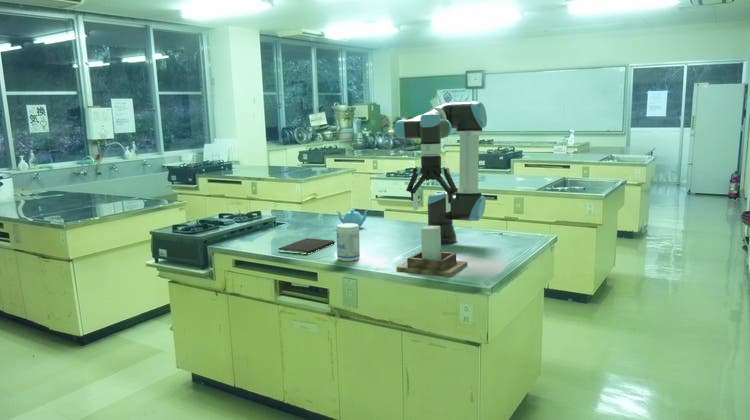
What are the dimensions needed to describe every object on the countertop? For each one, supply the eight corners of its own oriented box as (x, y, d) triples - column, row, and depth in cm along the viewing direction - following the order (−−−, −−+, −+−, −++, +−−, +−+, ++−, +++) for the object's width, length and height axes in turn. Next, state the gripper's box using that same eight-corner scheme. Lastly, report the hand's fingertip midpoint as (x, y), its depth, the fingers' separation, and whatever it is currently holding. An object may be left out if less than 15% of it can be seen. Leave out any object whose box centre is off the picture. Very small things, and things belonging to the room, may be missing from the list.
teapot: (369, 227, 296) (369, 209, 295) (351, 231, 288) (350, 212, 286) (354, 224, 306) (353, 207, 304) (336, 228, 297) (335, 210, 295)
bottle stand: (396, 270, 209) (396, 258, 208) (416, 259, 224) (416, 248, 224) (449, 277, 198) (449, 264, 197) (467, 265, 213) (467, 253, 213)
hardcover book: (278, 253, 246) (278, 248, 245) (307, 242, 266) (306, 238, 266) (307, 256, 239) (307, 251, 238) (334, 245, 259) (334, 240, 258)
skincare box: (436, 267, 206) (436, 229, 204) (421, 266, 208) (420, 228, 206) (441, 262, 214) (441, 225, 212) (427, 261, 216) (426, 224, 214)
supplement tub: (332, 259, 229) (331, 225, 226) (348, 255, 236) (346, 222, 233) (349, 263, 222) (348, 228, 220) (364, 258, 230) (363, 224, 227)
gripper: (397, 155, 207) (398, 210, 211) (458, 156, 195) (458, 214, 198) (405, 154, 214) (407, 207, 217) (465, 154, 201) (466, 210, 205)
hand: (431, 210), depth 208 cm, fingers open, 13 cm apart
